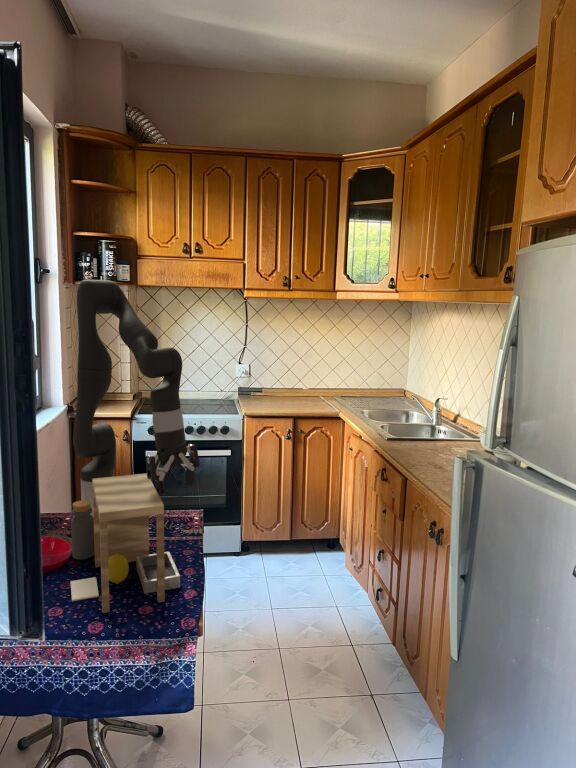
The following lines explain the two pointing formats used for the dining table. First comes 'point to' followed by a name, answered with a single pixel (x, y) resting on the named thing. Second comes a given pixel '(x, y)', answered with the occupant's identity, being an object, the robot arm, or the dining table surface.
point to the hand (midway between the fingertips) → (176, 489)
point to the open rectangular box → (149, 572)
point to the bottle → (82, 530)
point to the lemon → (117, 568)
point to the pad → (84, 589)
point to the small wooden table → (126, 525)
